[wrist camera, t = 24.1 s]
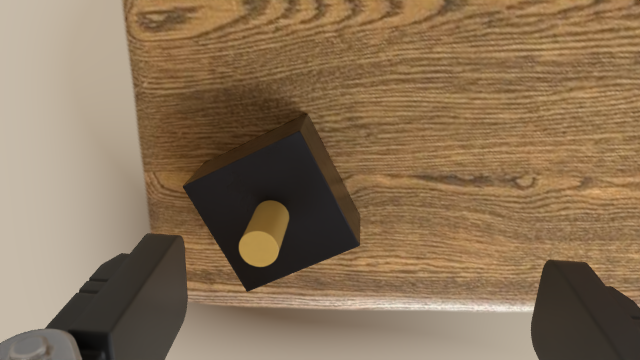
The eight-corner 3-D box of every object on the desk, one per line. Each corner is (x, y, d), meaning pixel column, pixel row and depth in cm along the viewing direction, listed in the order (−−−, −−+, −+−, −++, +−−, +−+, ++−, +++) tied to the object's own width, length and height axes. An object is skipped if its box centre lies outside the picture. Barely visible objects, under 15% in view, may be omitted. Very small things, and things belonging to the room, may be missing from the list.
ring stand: (259, 259, 43) (231, 333, 34) (203, 163, 40) (155, 215, 31) (360, 216, 41) (359, 282, 32) (307, 113, 38) (289, 152, 29)
